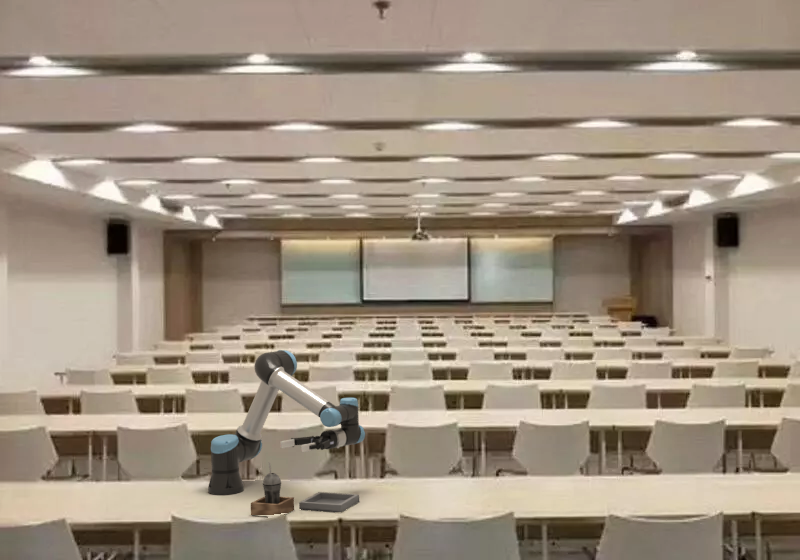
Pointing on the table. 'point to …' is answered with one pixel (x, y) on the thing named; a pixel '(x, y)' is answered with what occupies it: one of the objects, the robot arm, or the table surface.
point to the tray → (329, 502)
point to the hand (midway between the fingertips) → (291, 446)
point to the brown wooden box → (272, 506)
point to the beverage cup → (272, 487)
